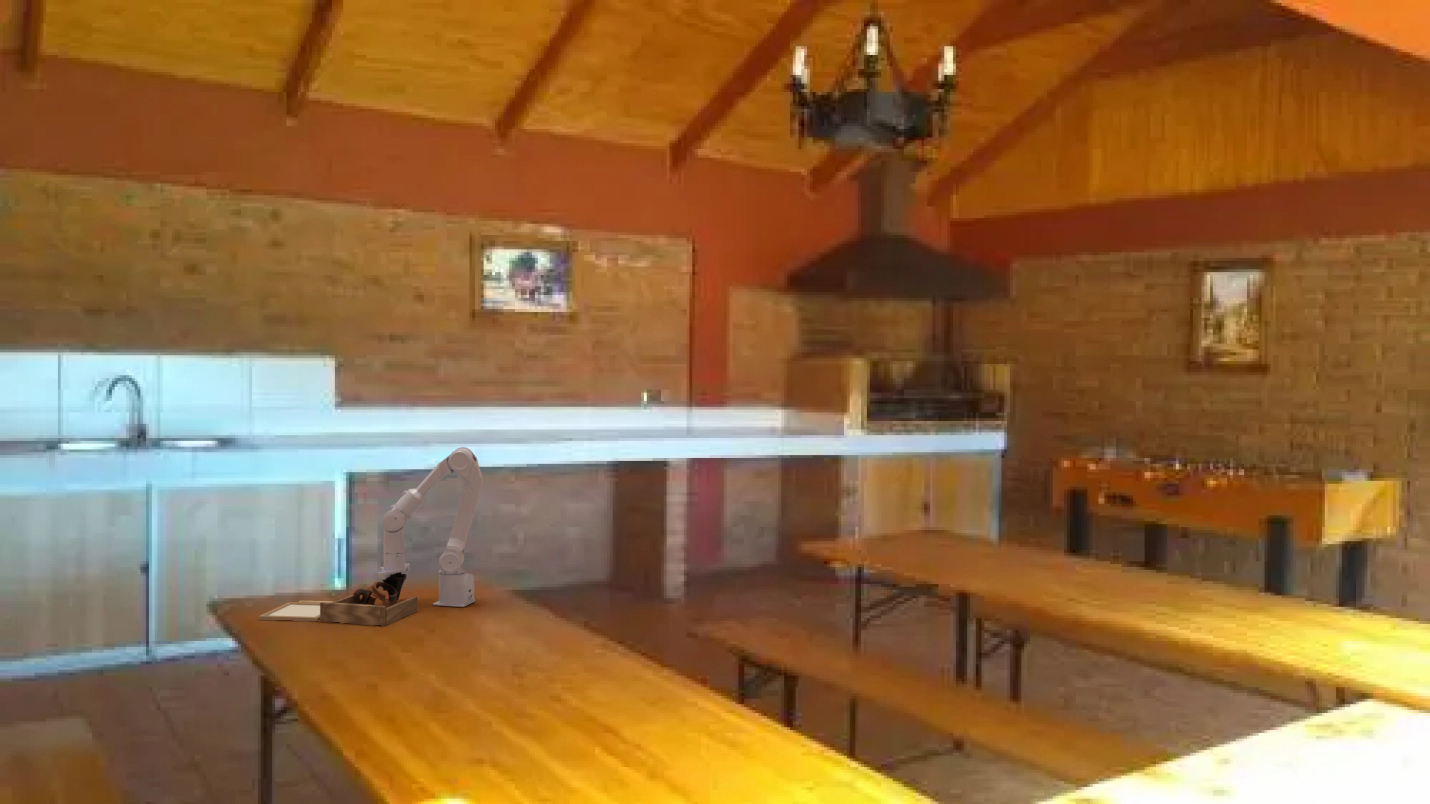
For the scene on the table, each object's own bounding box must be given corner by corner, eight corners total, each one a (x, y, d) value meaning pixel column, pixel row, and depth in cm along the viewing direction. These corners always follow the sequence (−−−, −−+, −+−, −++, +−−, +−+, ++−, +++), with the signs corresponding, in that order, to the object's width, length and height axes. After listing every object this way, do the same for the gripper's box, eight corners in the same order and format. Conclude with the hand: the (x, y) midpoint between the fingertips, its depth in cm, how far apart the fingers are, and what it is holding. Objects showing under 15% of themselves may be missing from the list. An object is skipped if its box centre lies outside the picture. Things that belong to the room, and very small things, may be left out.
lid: (348, 605, 314) (348, 601, 314) (317, 621, 294) (317, 618, 294) (293, 603, 315) (293, 600, 315) (258, 620, 295) (258, 616, 295)
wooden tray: (417, 611, 307) (417, 593, 307) (384, 626, 290) (384, 607, 290) (356, 607, 311) (356, 589, 311) (320, 621, 294) (320, 602, 294)
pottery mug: (380, 604, 317) (393, 580, 315) (392, 624, 311) (406, 600, 309) (342, 599, 308) (355, 575, 307) (354, 620, 302) (367, 595, 300)
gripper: (394, 547, 323) (394, 594, 323) (367, 556, 309) (367, 605, 309) (416, 548, 321) (416, 595, 322) (390, 557, 307) (390, 606, 308)
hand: (394, 600), depth 315 cm, fingers closed
